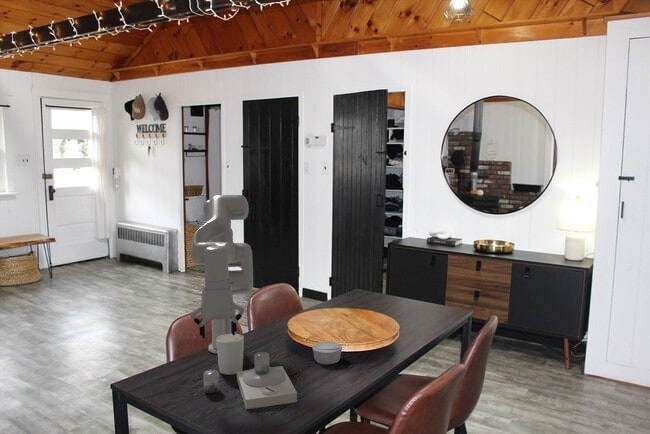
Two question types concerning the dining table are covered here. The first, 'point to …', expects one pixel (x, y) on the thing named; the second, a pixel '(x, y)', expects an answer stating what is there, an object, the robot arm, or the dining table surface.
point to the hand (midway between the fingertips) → (218, 335)
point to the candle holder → (230, 353)
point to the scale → (266, 388)
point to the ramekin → (327, 352)
